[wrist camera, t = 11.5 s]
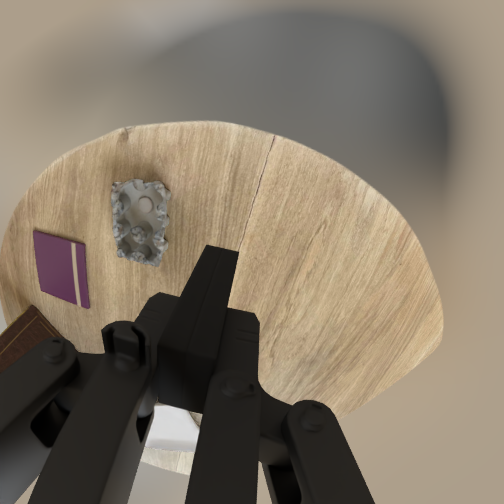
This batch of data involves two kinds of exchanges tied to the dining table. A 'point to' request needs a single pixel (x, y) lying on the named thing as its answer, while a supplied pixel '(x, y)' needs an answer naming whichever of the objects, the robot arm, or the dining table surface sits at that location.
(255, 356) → the robot arm
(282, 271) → the dining table surface
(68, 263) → the tea towel
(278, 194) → the dining table surface
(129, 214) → the egg carton
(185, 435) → the plate
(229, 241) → the dining table surface
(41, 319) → the book
